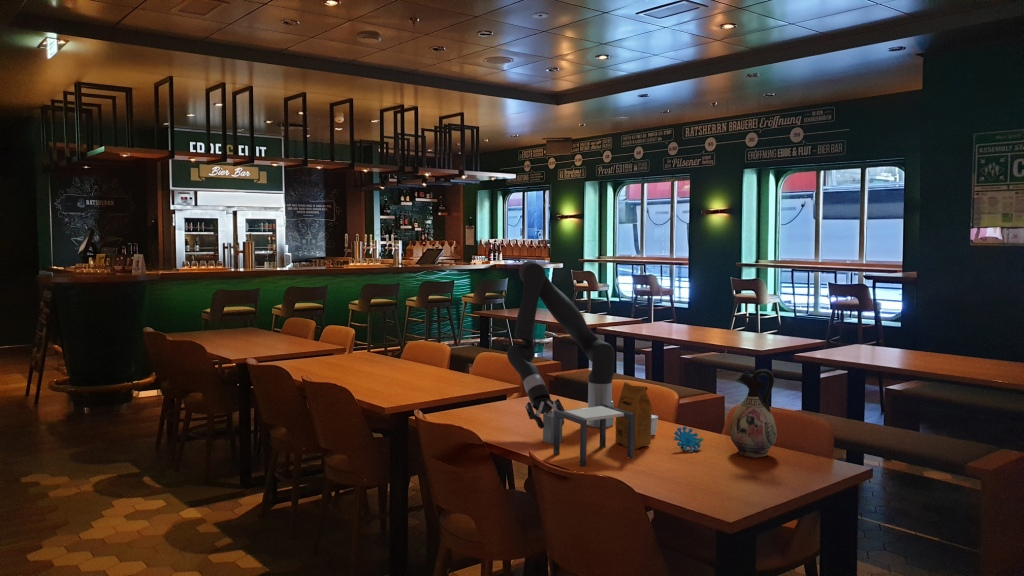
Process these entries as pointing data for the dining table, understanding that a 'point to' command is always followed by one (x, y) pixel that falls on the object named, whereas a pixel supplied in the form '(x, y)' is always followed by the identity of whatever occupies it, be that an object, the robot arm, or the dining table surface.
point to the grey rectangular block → (550, 428)
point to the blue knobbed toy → (687, 439)
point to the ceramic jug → (754, 418)
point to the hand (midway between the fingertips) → (552, 426)
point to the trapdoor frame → (583, 432)
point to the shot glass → (653, 424)
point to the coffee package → (639, 404)
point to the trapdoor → (594, 413)
